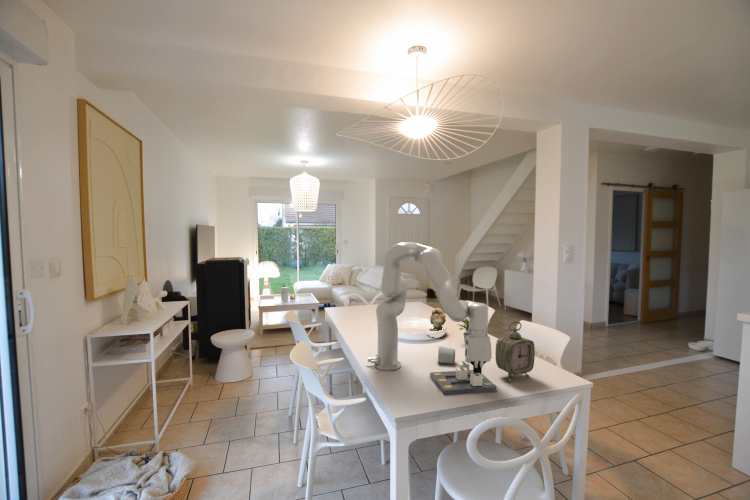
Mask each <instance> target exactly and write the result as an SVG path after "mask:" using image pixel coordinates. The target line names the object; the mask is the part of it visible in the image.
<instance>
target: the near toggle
mask: <svg viewBox="0 0 750 500" xmlns="http://www.w3.org/2000/svg"><path fill="white" fill-rule="evenodd" d="M482 381H483V376H482V375H481V374H480V373H473V374H470V384H471V385H472V386H482Z"/></svg>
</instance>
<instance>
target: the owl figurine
mask: <svg viewBox="0 0 750 500" xmlns="http://www.w3.org/2000/svg"><path fill="white" fill-rule="evenodd" d="M429 321H430V325H432V328H433V327H434V328H433V329H432V328H429V330H430V331H439V330H442V328H443V326H444V324H446V321H447V320H446V313H445V312H444V310H443V308H440V307H435V308H434V309H432V311H431V315H430V319H429ZM443 329H444V328H443ZM446 337H447V333H446V332H445V334H444V335H443V336H442V337H440V338H439V339H438V340H442V339H445V338H446Z"/></svg>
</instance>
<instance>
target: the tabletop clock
mask: <svg viewBox="0 0 750 500" xmlns="http://www.w3.org/2000/svg"><path fill="white" fill-rule="evenodd" d="M514 324H519V327H518V328H517V327H514V328H513V329H511V326H512V325H514ZM521 328H522V323H521V322H519V321H513V322H511V323H510V324H509V326H508V329H509V330H510V331H511V332H509V334H508V336H504V337H501V338H498V339H497V340H496V343H495V363H496V366H497V368H498V369H500V370H502V371H504V372H506V373H507V376H508V378H507V379H506V382H508V383H511V382H512V379H511V377H512V375H514V376H518V375H519V376H520V375H523V374H525V378H526V379H529V378H530V375H529V374H527V373H529V372H531V371H533V369H534V367H535V358H536V357H535V355H536V354H535V343H534V341H533V340H530V339H528V338H525V337H523V336H522V335H521V334H520V332H518V331H520V330H521Z"/></svg>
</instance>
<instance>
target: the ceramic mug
mask: <svg viewBox="0 0 750 500" xmlns="http://www.w3.org/2000/svg"><path fill="white" fill-rule="evenodd" d="M455 361H456V350H455V349H454V348H451V347H446V346H445V347H444V346H441V345H440V346H438V356H437V363H438V364H448V365H449V364H450V365H453V364H455V363H456V362H455Z"/></svg>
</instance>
